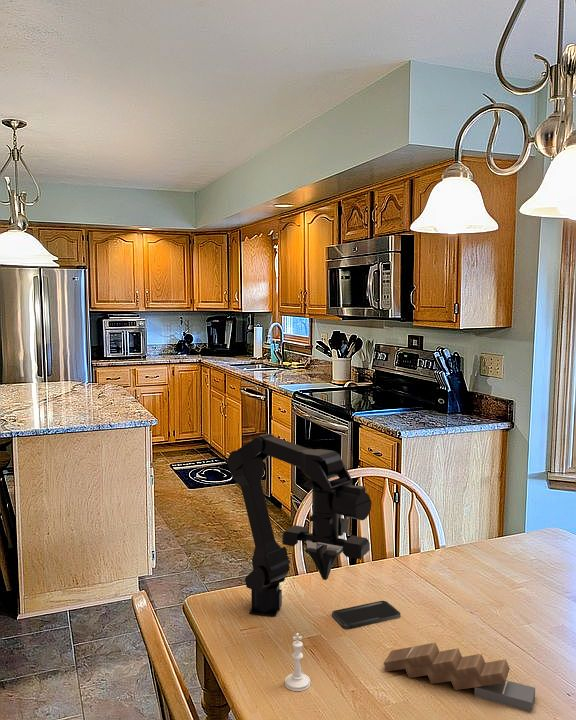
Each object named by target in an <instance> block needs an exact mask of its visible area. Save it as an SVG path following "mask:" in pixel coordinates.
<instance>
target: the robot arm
mask: <svg viewBox="0 0 576 720" xmlns="http://www.w3.org/2000/svg"><path fill="white" fill-rule="evenodd" d="M269 457H271V458H273V459H276V460H279V461H282V462H284V463H287V464H289V465H292V466H295V467H296V468H298V469H300V470H301V472H302V473H303V475H305V476H306V477H308V478H309V479H308V480H307V481H306V482H305V483H304V484H303V486H304V487H305V488H307V489H308V488H309V489H311V491H312V492H311V498H312V499H311V510H312V511H311V515H310V516H309V522H311V529H312V530H311V533H310V529H309V528H308V527H307V526H301V525H295V524H294V525H292V526H290V527H289V528H288V529H286V530H285V531H283V533H282V536H281V538H282V539H281V540H282V541H281V542H282V545H285V546H282V547H281V546H280V544H279V543H278V542H277V541H276V538H275V535H274V529H273V526H272V522H271V518H270V515H269V510H268V507H267V506H268V505H267V501H266V498H265V493H264V490H263V485H262V479H263V475H264V471H265V466H264V461H265V460H267V458H269ZM226 461H227V467H228V470H229V473H230V475H231V478H232V479H233V480H234V482H236V484H237V485H238V486H239V487H240V489H241V492H242V497H243V501H244V505H245V510H246V513H247V518H248V522H249V526H250V531H251V534H252V538H253V542H254V550H253V554H252V558H251V563H252V564H251V565H252V571H251V572H249V574H248V575H247V576H246V577H244V582H245V586H246V588H247V589H249V590H251V594H250V595H251V608H250V610H249V614H250V615H259V616H267V617H268V616H269V617H276V616H277V614H278V612H279V611H280V610H281V608H282V605H283V601H282V600H283V597H282V596H283V592H282V591H283V590H282V588H281V587H280V584H281V583H283V582H285V580H286V578H287V577H286V576H287V575H288V573H289V572H290V564H291V560H290V559H289V556H288V550H287V547H286V546H289V547H296V545H297V544H298V543H299V542H305V543H306V548H305V550H304V551H305V553H308V554H309V555H310V558H311V559H312V561H313V563H314V564H315V566H316V568H317V570H318V571H317V572H318V573H319V574H320V576H321V579H322V580H324V581H327V580H328V578H329V577H330V573H331V570H332V567H333V565H334V562H335V560H336V559H337V557H338V556H339V555H341V554H344V556H345V557H346V558H349V559H356V560H359V559H360V560H361V559H362V558H364V556H365V555H366V554H367V553H369V552H370V551H371V550H370V548H371V546H370V544H371V543H370V541H369V539H368V537H362V536H358V535H354V534H353V535H350V537H349V538H348V539H344V538H339V537H342V536H343V535H344V534H348V532H349V531H348V530H349V522H350V519H354V520H358V521H364V520H366V519H367V518H368V517H369V515H370V513H371V509H372V505H373V504H372V500H371V496H370V495H369V493H367V492H366V487H365V486H363V485H355V484H353V483H354V480H353V478H352V477H351V475H350V473H349V471H348V470H347V468H346V466H345V464H344V461H343V459H342V458H341V454H340V453H339V452H337V451H335V450H330V449H329V450H328V449H321V448H320V449H318V448H317V449H313V448H307V447H304V446H302V445H299V444H296V443H294V442H290V441H289V440H285V439H283V438H280V437H277V436H275V435H274V434H272V433H265V434H261V435H257V436H255V438H253V439H252V440H251V441H249V442H248V443H246V444H245V445H243V446H241V447H240V448H238V449H236V450H232V451H231V452H230V453H229V455H228V457H227V459H226ZM331 479H332V480H331ZM342 516H343V517H346V518H343V517H342ZM349 518H350V519H349Z"/></svg>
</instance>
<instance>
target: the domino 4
mask: <svg viewBox="0 0 576 720" xmlns="http://www.w3.org/2000/svg"><path fill="white" fill-rule="evenodd" d="M510 669H511V668H510V666H509V664H508V661H507V659H501V660H500V659H499V660H493V661H487V662H485V665H484V667H483V670H482V673H481V675H480V676H479V677H473V678H467V679H460V680H454V681H450V682H451V684H452V686H453V687H452V688H453V690H454V691H457V690H464V689H465V690H466V689H471V688H475V687H480V686H486V685H493V684H500V683H505V682H506V680H507V679H508V675H509V674H510Z"/></svg>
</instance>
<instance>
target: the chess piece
mask: <svg viewBox="0 0 576 720" xmlns="http://www.w3.org/2000/svg"><path fill="white" fill-rule="evenodd" d="M292 640H293V642H292V648H293V650H294V652H293V653H292V655H291V657H292V658H293V660H294V667H293V672H292V673H291V674H288V675H287V676H286V678H285V682H284V685H285V687H286V688H287V689H288V690H290V691H293V692H301V691H305V690H308V689H309V688H310V686H311V679H310V677H309V676H308V675H307V674H305V673H303V672H302V665H301V659H303V658H304V655H303V653H302V648H303V645H304V643H303V642H302V641H300V640H303V636H302V635H299V632H297V633H295V636H292Z"/></svg>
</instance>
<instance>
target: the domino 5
mask: <svg viewBox="0 0 576 720" xmlns="http://www.w3.org/2000/svg"><path fill="white" fill-rule="evenodd" d="M474 697H476V698H479V699H483V700H486V701H490V702H494V703H497V704H501V705H504V706H508V707H512V708H515V709H518V710H523V711H525V712H529V713H532V712H533V709H534V708H533V707H534V704H535V699H536V687H533V686H530V685H525V684H523V683H518V682H514V681H512V680H511V681H510V680H507V679H506V682H505V683H500V684H493V685H486V686H480V687H474Z"/></svg>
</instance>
